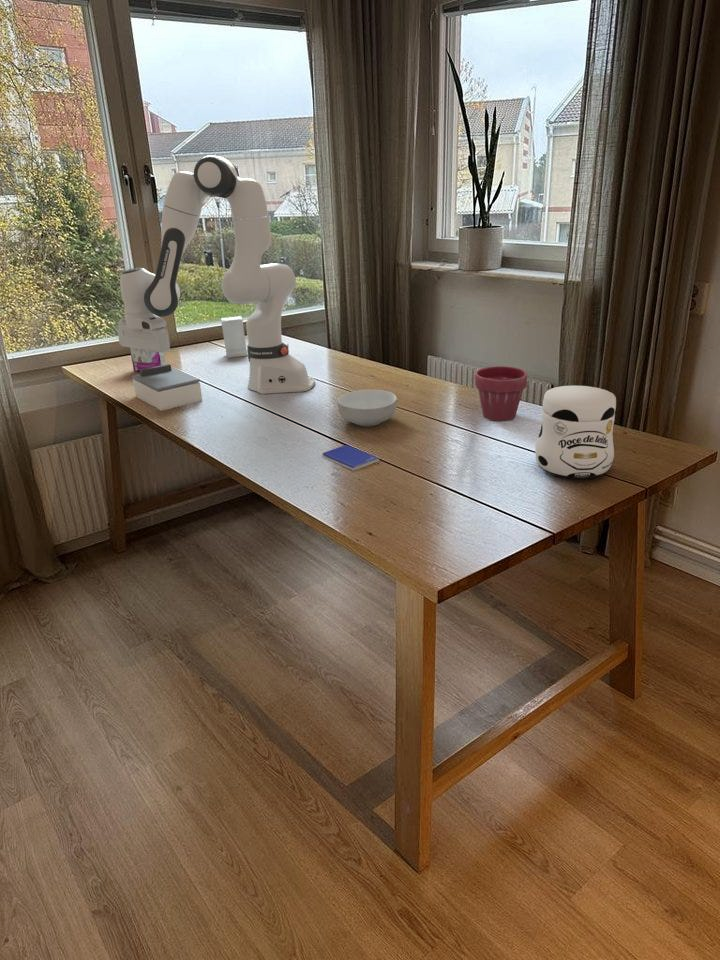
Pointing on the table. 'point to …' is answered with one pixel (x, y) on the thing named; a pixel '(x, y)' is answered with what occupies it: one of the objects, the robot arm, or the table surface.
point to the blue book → (350, 457)
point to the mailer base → (168, 395)
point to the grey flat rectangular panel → (164, 377)
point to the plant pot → (500, 391)
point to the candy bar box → (156, 358)
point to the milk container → (576, 432)
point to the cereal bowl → (367, 406)
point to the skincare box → (234, 336)
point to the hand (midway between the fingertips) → (146, 362)
